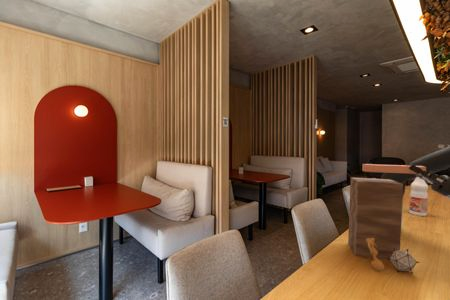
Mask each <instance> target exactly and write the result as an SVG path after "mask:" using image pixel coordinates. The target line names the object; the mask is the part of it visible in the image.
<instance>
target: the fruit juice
mask: <svg viewBox="0 0 450 300" xmlns="http://www.w3.org/2000/svg"><path fill="white" fill-rule="evenodd" d="M410 189H411V190H410V192H409V205H408V206H409V207H408V209H409V210H408V211H409V214H411V215H414V216H420V217H426V216H427V215H428V203H429V193H428V190H429V185H428V183H427V182H425V181H424V180H423V179H420V178H419V177H415V178H414V181H412V183H410Z"/></svg>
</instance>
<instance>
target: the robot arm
mask: <svg viewBox="0 0 450 300" xmlns="http://www.w3.org/2000/svg"><path fill="white" fill-rule="evenodd" d="M405 165H406V166H410V167H409V169H410V170H412V171H414V172H416V173H418V174H409V173H385V172H382V173H383V174H382V175H381V177H380V179H390V180H393V181H396V182H399V183H401V184H403V197H402V213H403V211H404V210H403V206H404V195H405V192H406V183H407V181H409V180H411V179H415V178H416V177H419V178H420V179H423V180H424V181H425V183H426V184H431V186H430V188H431V190H432V191H433V192H436V193H437V194H439V195H441V196H443V197H445V198H447V199H448V200H450V176H449V175H447V174H446V175H445V174H442V175H438V174H436V173H438V172H442V171H444V170H447V169H449V168H450V145H449V146H447V147H445V148H444V147H443V148H442V149H440V150H436V151H434V152H431V153H429V154H426V155H424V156H422V157H419V158H417V159H415V160H413V161H411V162H409V163H405ZM417 166H424V167H426V171H425V170H424V169H420V168H419V167H417ZM402 227H403V218H402V219H401V230H402Z"/></svg>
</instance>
